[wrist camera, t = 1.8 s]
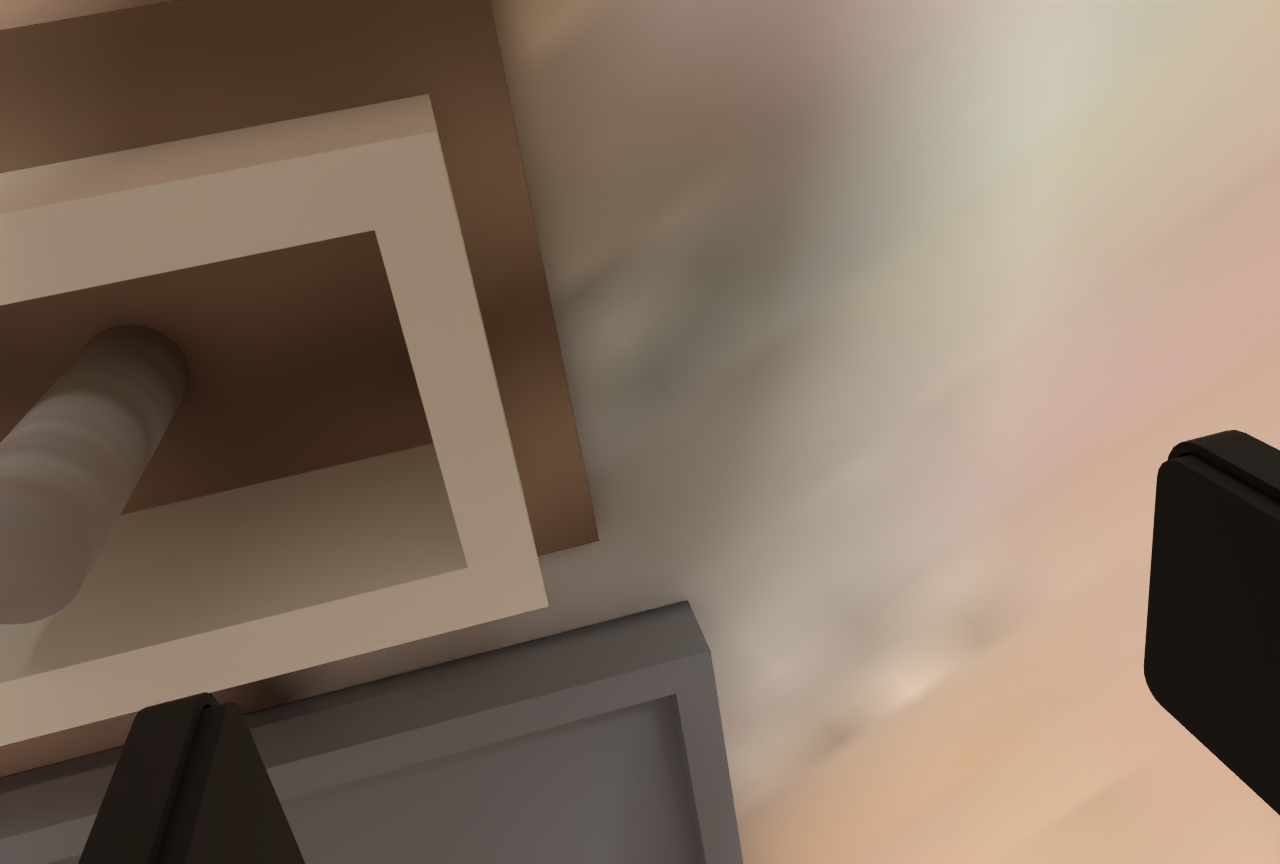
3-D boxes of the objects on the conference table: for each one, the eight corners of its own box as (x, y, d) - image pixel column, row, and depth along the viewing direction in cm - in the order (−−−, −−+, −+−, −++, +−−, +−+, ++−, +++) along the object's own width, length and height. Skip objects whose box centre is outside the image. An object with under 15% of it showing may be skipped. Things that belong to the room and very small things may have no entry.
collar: (-365, 241, 17) (-670, 342, 12) (428, 93, 19) (435, 131, 14) (-129, 625, 21) (-293, 820, 16) (519, 472, 23) (548, 606, 18)
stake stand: (-518, 118, 17) (-1212, 218, 10) (476, -50, 19) (518, -71, 12) (-137, 708, 22) (-393, 1048, 15) (594, 528, 24) (671, 752, 17)
